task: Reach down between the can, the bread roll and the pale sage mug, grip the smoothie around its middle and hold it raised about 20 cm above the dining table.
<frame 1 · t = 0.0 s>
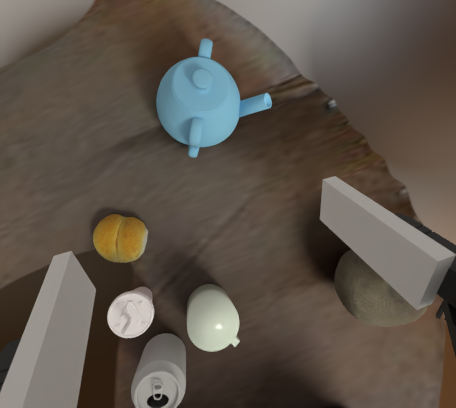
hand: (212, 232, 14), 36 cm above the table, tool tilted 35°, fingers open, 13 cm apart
smoothie: (142, 296, 47), on the table
sage mug: (208, 306, 48), on the table
teapot: (209, 115, 52), on the table
can: (164, 352, 46), on the table
bread roll: (123, 237, 47), on the table
cantaloupe: (349, 274, 53), on the table
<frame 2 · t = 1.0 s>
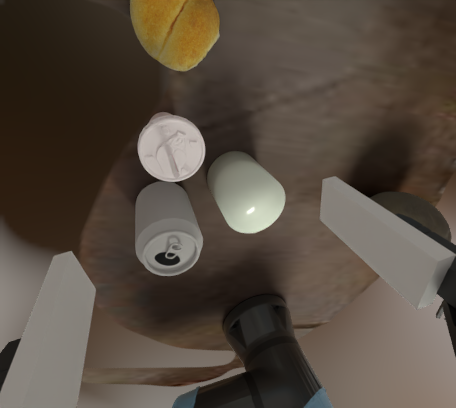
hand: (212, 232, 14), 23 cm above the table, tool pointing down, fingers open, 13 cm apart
smoothie: (164, 126, 33), on the table
sage mug: (232, 176, 39), on the table
can: (162, 201, 38), on the table
bread roll: (175, 23, 28), on the table
cantaloupe: (362, 209, 51), on the table
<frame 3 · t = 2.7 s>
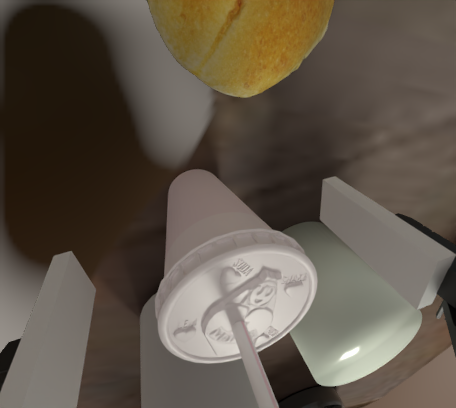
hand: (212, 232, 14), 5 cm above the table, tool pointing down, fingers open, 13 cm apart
smoothie: (195, 193, 18), on the table
sage mug: (297, 257, 24), on the table
can: (184, 301, 23), on the table
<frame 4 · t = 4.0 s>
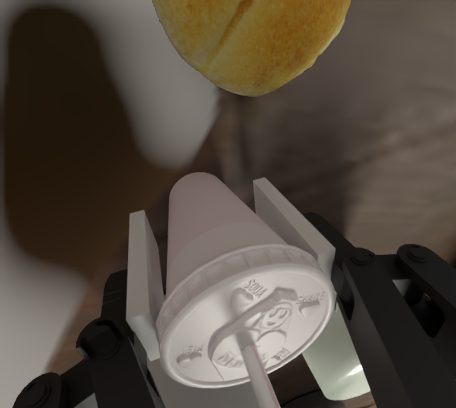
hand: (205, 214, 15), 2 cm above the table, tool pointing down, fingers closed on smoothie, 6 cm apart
smoothie: (197, 197, 17), on the table, touching gripper
sage mug: (303, 262, 23), on the table
can: (185, 308, 22), on the table
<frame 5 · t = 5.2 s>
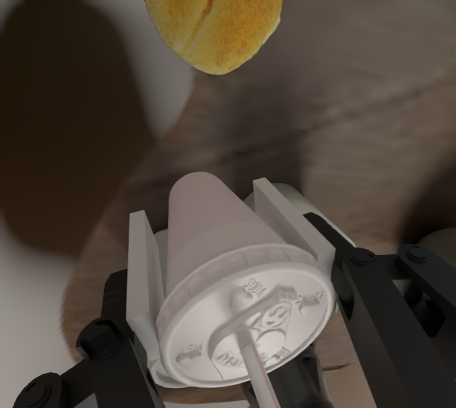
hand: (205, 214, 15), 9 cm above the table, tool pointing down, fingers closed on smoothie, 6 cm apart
smoothie: (197, 196, 17), point 7 cm above the table, touching gripper
sage mug: (269, 215, 29), on the table
can: (174, 249, 28), on the table
cantaloupe: (417, 244, 42), on the table
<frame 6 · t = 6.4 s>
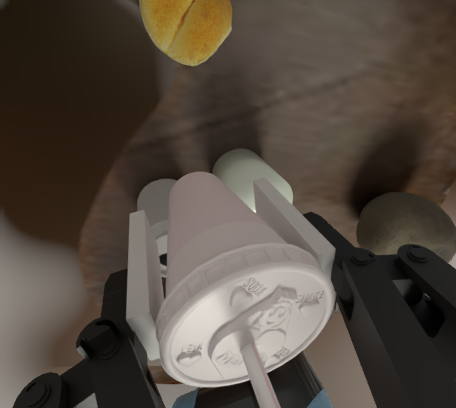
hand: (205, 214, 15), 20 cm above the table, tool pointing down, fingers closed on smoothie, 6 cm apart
smoothie: (197, 196, 17), point 18 cm above the table, touching gripper
sage mug: (237, 174, 38), on the table
can: (165, 199, 37), on the table
bread roll: (185, 14, 27), on the table
cantaloupe: (367, 209, 51), on the table
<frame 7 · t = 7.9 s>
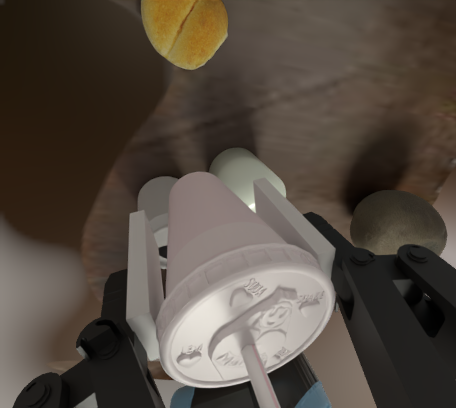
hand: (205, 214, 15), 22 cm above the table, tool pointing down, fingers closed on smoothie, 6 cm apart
smoothie: (197, 196, 17), point 20 cm above the table, touching gripper
sage mug: (234, 172, 39), on the table
can: (164, 196, 38), on the table
bread roll: (184, 22, 28), on the table
cantaloupe: (361, 207, 52), on the table
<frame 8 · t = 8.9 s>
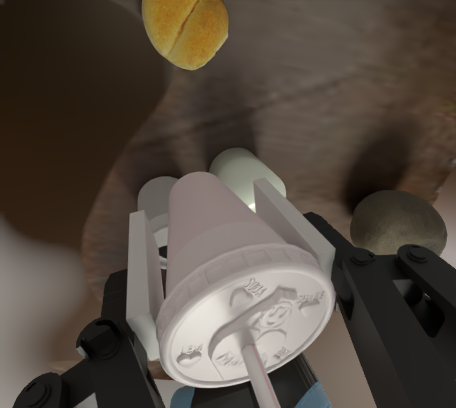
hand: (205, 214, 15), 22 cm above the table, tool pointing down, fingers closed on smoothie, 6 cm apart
smoothie: (197, 196, 17), point 20 cm above the table, touching gripper
sage mug: (234, 172, 39), on the table
can: (164, 196, 38), on the table
bread roll: (184, 22, 29), on the table
cantaloupe: (361, 207, 52), on the table
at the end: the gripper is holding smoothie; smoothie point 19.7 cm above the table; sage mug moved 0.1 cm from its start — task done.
